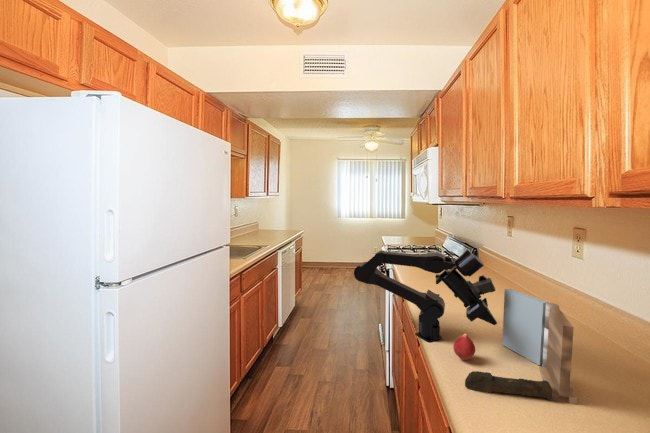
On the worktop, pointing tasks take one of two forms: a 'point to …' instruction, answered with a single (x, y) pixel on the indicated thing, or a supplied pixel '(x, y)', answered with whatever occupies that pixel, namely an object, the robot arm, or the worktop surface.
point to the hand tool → (507, 385)
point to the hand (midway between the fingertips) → (495, 323)
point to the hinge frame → (558, 354)
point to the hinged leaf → (524, 325)
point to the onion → (464, 347)
